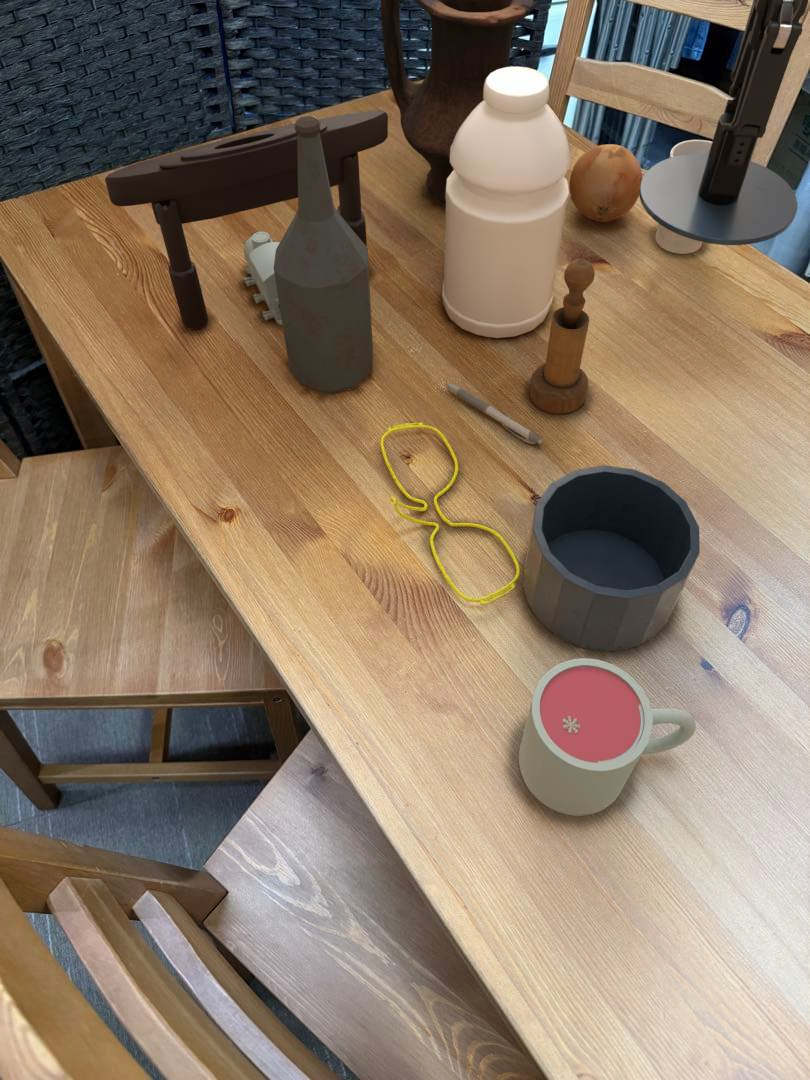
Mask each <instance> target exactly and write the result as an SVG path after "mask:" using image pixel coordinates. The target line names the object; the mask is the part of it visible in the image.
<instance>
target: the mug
mask: <svg viewBox="0 0 810 1080" xmlns="http://www.w3.org/2000/svg"><path fill="white" fill-rule="evenodd" d="M661 724H663V725H664V724H665V725H666V724H669V725H670V724H671V725H678V726H679V727H678V728H677V729H675V730H674V731H673V732H670V733H668V734H666V735H662V736H660V737H655V738H651V737H652V732H653V727H654V725H661ZM696 729H697V724H696V721H695V718H694V717H693V716H692V715H691V714H689V712H687V711H684V710H682V709H678V708H669V707H665V708H664V707H661V708H660V707H659V708H652V707H651V703H650V701H649V698H648V696H647V695H646V693H645V691H644V689H643V688H642V686H641V685H640V684H639V683H638V681H636V679H635V678H634V677H632V676H631V675H630V674H629V673H628V672H626V671H625V670H623V669H622V668H620V667H619V666H617V665H615V664H613V663H610V662H607V661H605V660H601V659H596V658H582V657H581V658H574V659H569V660H565V661H563V662H561V663H558V664H556V665H555V666H553V667H551V668H550V669H549V670H548V671H547V672H545V674H544V675H543V676H542V677H541V678H540V679H539V681H538V683H537V685H536V687H535V689H534V692H533V695H532V699H531V703H530V706H529V709H528V715H527V718H526V723H525V726H524V730H523V733H522V738H521V741H520V745H519V750H518V766H519V770H520V774H521V777H522V779H523V781H524V784H525V785H526V787H527V789H528V791H529V792H530V793H531V794H532V795H533V796H534V797H535V799H537V800H538V801H539V802H540V803H541V804H542V805H543V806H546V807H547V808H549V809H551V810H553V811H554V812H557V813H560V814H563V815H568V816H574V817H582V816H590V815H594V814H597V813H600V812H601V811H603V810H605V809H606V808H608V807H609V806H610V805H612V804H613V803H614V802H616V801H615V800H616V799H617V798H618V797H619V795H620V794H621V792H622V790H623V788H624V787H625V785H626V783H627V781H628V780H629V778H630V777H631V774H632V772H633V771H634V769H635V768H636V765H637V764H638V762H639V760H640V758H641V756H646V755H653V754H658V753H663V752H666V751H669V750H673V749H675V748H677V747H679V746H681V745H683V744H685V743H686V742H688V741H689V740H690V738H692V737H693V735H694V734H695V732H696Z"/></svg>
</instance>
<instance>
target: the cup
mask: <svg viewBox="0 0 810 1080" xmlns="http://www.w3.org/2000/svg"><path fill="white" fill-rule="evenodd" d="M712 142H713V141H710V140H704V139H688V140H684V141H681V142H678V143H677V144H675V145H674V146H672V148H671V150H670V152H669V154H670V155H669V158H671V157H675V156H679V155H685V154H693V153H709V152H710V148H711V145H712ZM655 242H656V244H657V245H658V246H659V247H660V248H662V249H663V250H665V251H667V252H669V253H672V254H673V253H674V254H678V255H687V254H692V253H695V252H697V251H699V250H700V249H701V248H702V245H703V243H704V242H701V241H696V240H693V239H690V238H687V237H684V236H681V235H679V234H676V233H674V232H672V231H670V230H668V229H667V228H665V227H663V226H662V225H660V224H659V223H658V222H657V229H656V233H655Z"/></svg>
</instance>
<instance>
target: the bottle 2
mask: <svg viewBox="0 0 810 1080" xmlns="http://www.w3.org/2000/svg"><path fill="white" fill-rule="evenodd" d="M549 82H550V81H549V79H548V78H547V77H546V75H545V74H544V73H542V72H540V71H538V70H537V69H534V68H530V67H526V66H509V67H505V68H501V69H497V70H495V71H494V72H492V73H490V75H489V76H488V77H487V78H486V80H485V83H484V89H483V99H484V100H483V101H482V102H481V103H480V104H479V105H478V106H476V108H475V109H474V110H473V111H472V112H471V113H470V115H469V116H468V117H467V119H466V120H465V121H464V122H463V124H462V125H461V127H460V128H459V130H458V132H457V134H456V136H455V138H454V141H453V143H452V145H451V147H450V163H451V165H452V167H453V169H454V170H453V171H452V173H451V174H450V175H449V177H448V178H447V182H446V205H445V235H444V268H443V282H442V291H441V292H442V293H441V298H442V304H443V308H444V310H445V312H446V313H447V316H448V318H449V319H450V320H451V321H452V322H453V323H454V324H455V325H457V326H458V327H459V328H460V329H462V330H464V331H467V332H469V333H471V334H474V335H476V336H480V337H481V336H482V337H487V338H494V339H499V338H511V337H512V338H513V337H517V336H520V335H523V334H527V333H530V332H531V331H534V329H536V328H537V327H538V326H539V325H541V324H542V323H544V321H545V319H546V317H547V316H548V313H549V312H550V309H551V307H552V304H553V301H554V294H553V293H554V287H555V281H556V276H557V269H558V263H559V257H560V251H561V244H562V238H563V231H564V225H565V220H566V215H567V214H566V213H567V208H568V203H569V201H570V200H569V199H570V189H569V182H568V180H567V178H566V177H565V176H566V174H567V172H568V171H569V169H570V168H571V166H572V154H571V148H570V145H569V140H568V135H567V133H566V130H565V127H564V125H563V123H562V122H561V120H560V119H559V117H558V116H557V114H556V113H555V112H554V110H553V109H552V108H551V107H550V105H549V104H548V101H549V100H550V83H549Z"/></svg>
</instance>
